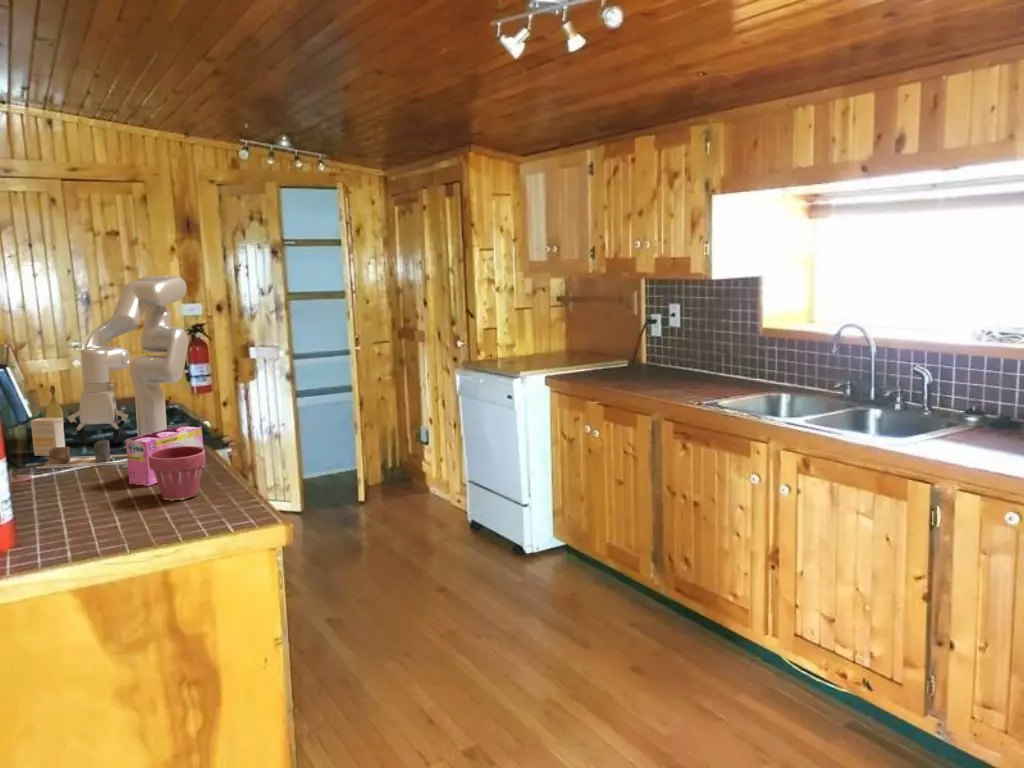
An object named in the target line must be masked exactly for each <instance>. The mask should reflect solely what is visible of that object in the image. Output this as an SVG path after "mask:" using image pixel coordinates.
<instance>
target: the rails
mask: <svg viewBox="0 0 1024 768" xmlns="http://www.w3.org/2000/svg"><path fill="white" fill-rule="evenodd" d="M110 457H112V458H115V457H117V458H118V457H127V453H126V454H123V453H122V454H110ZM78 458H95V455H82V456H70V459H78ZM47 460H49V458H48V459H47ZM49 461H50V460H49ZM113 465H116V466H117V465H121V466H120V468H119V469H123V468H124V469H126V468H127V469H128V461H120V462H106V463H98V464H77V465H56V466H43V465H41V466H40V465H39V466H36V467H35V469H53V468H72V467H73V468H75V467H92V466H93V467H94V466H113Z"/></svg>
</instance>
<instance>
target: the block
mask: <svg viewBox="0 0 1024 768" xmlns="http://www.w3.org/2000/svg"><path fill="white" fill-rule="evenodd" d="M48 457H49V461H50V465H56V464H66V463H68V462H69V461H70V457H71V455H70V447H69V446H65V447H54V448H52V449H51V450H49V456H48Z"/></svg>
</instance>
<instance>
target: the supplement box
mask: <svg viewBox="0 0 1024 768" xmlns="http://www.w3.org/2000/svg"><path fill="white" fill-rule="evenodd" d="M30 427H31V436H32V446H33V447H32V448H33V454H34V456H37V457H38V456H41V457H49V450H51V449H52V448H54V447H66V441H65V431H64V428H63V419H62V418H46V417H38V418H35V419H30Z"/></svg>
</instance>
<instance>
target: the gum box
mask: <svg viewBox="0 0 1024 768" xmlns="http://www.w3.org/2000/svg"><path fill="white" fill-rule="evenodd" d="M203 438H204V437H203V429H202V426H201V425H200V426H198V427H197V426H196V427H195V426H190V425H188V424H182V425H177V426H173V427H170V428H169V427H168V428H167V429H165V430H161V431H158V432H154V433H150V434H146V435H142V436H138V435H137V436H135V437H130V438H127V439H125V442H126V443H125V444H126V447H125V448H126V454H127V456H126V457H127V459H126V460H127V462H128V468H127V471H128V484H129V485H131V484H136V485H135V486H137V485H145V486H150V485H153V484H155V483H157V480H156V477H155V473H154V470H151V469H150V465H149V454H150V453H152V452H154V451H157V450H160V449H164V448H170V447H178V446H196V447H201V448H203V449H204V439H203ZM203 467H205V468H206V463H205V464H204V465H202V468H203ZM145 486H144V487H145ZM153 486H154V485H153ZM150 487H151V486H150Z"/></svg>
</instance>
